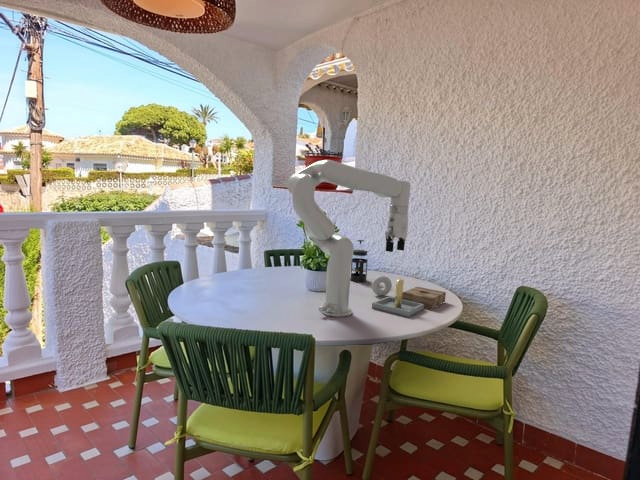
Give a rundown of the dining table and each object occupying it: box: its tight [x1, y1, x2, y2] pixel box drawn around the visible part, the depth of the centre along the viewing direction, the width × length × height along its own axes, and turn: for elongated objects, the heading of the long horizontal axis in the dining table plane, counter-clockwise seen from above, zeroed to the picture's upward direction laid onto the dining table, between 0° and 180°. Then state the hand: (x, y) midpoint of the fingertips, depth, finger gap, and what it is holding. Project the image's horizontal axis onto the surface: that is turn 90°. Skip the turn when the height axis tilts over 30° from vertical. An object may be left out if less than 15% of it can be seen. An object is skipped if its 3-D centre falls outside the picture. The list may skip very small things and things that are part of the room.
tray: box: [371, 296, 425, 319], centre depth 166 cm, size 15×17×2 cm
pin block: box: [402, 286, 447, 310], centre depth 177 cm, size 16×14×5 cm
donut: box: [371, 275, 393, 297], centre depth 186 cm, size 10×4×10 cm, turn 99°
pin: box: [394, 278, 405, 308], centre depth 165 cm, size 3×3×12 cm
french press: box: [350, 239, 369, 283], centre depth 215 cm, size 12×9×23 cm
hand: (394, 250), depth 163 cm, fingers open, 9 cm apart
